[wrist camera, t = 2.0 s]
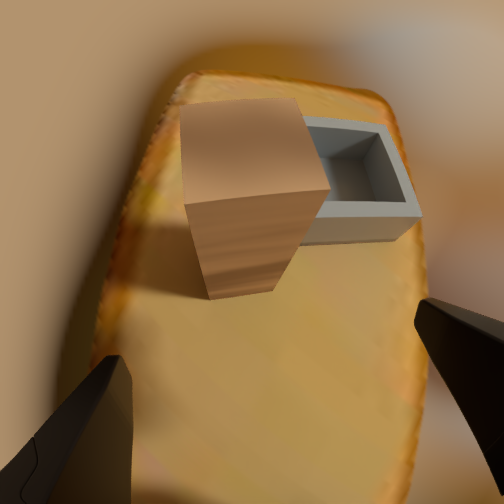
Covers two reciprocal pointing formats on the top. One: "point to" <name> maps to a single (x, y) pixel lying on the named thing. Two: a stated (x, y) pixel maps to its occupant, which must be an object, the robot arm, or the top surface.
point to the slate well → (360, 184)
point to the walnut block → (248, 190)
